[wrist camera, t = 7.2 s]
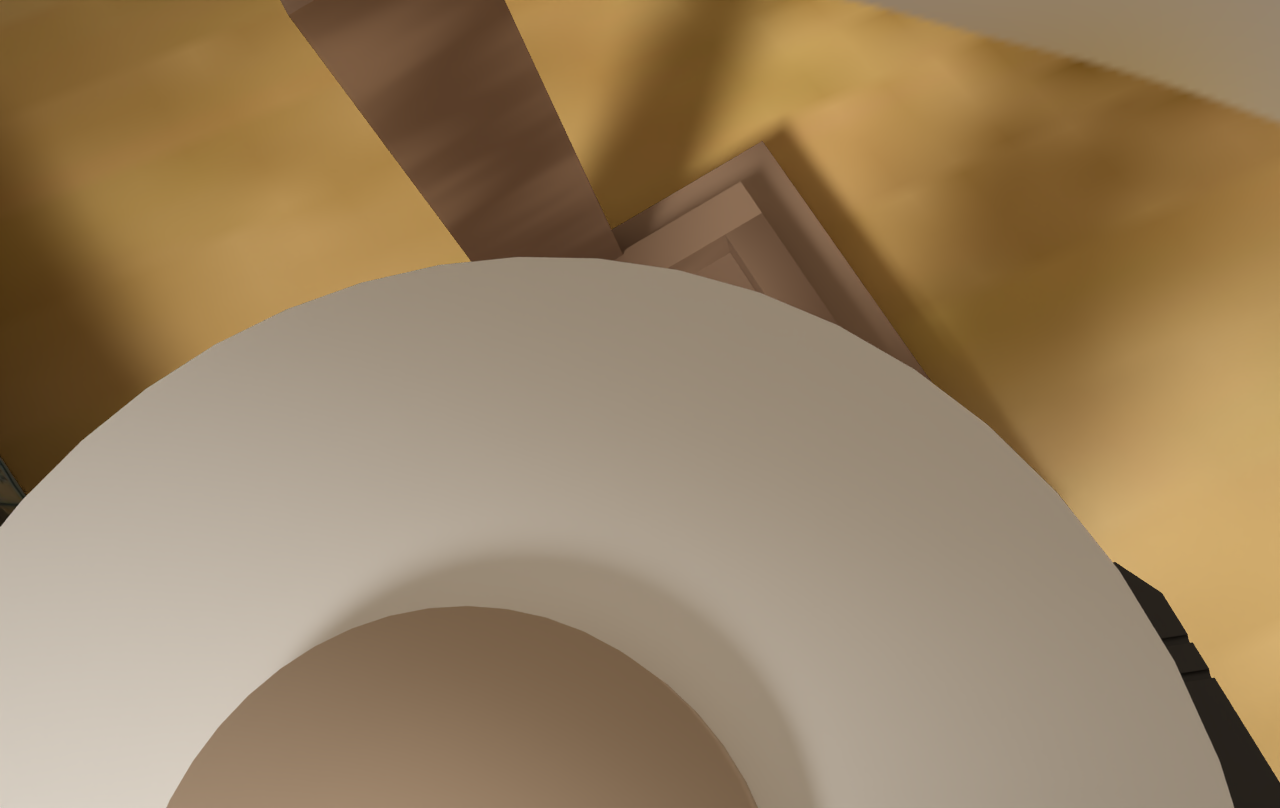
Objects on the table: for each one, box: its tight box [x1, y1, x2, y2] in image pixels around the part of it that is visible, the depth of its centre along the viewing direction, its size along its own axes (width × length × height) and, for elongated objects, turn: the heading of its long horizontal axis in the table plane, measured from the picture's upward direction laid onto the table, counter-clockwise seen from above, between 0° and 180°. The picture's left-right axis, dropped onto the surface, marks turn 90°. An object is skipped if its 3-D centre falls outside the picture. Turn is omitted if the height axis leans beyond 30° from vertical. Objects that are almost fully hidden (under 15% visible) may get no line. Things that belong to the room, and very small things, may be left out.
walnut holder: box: [281, 0, 931, 382], centre depth 23 cm, size 12×12×14 cm
